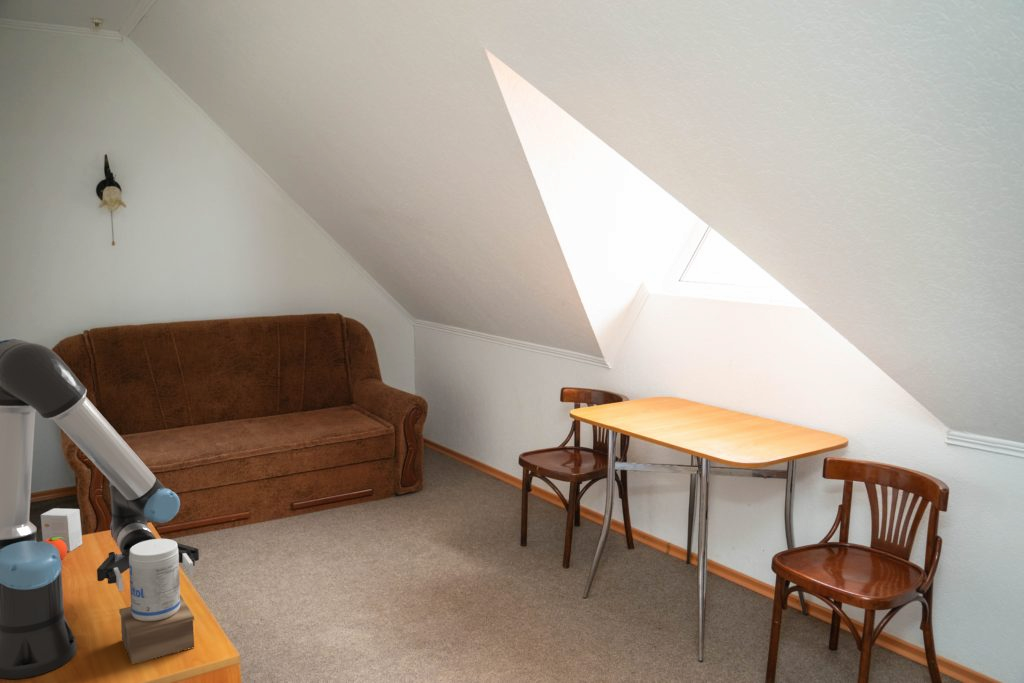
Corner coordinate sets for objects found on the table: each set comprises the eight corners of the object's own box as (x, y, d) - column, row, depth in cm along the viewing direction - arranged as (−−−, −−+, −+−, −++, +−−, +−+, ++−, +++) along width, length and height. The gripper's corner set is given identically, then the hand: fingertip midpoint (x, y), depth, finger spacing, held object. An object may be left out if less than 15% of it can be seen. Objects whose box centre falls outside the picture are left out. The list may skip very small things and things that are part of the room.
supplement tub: (121, 616, 166) (117, 549, 164) (160, 598, 175) (156, 534, 173) (152, 627, 162) (149, 558, 160) (191, 608, 170) (187, 542, 168)
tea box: (195, 647, 168) (193, 616, 167) (131, 665, 160) (129, 632, 160) (181, 624, 178) (180, 594, 177) (121, 640, 171) (119, 609, 170)
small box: (82, 544, 224) (80, 508, 222) (70, 552, 218) (67, 515, 217) (56, 543, 224) (53, 507, 223) (42, 551, 219) (40, 514, 218)
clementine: (62, 555, 216) (61, 530, 215) (77, 560, 212) (75, 535, 211) (32, 565, 209) (30, 539, 208) (46, 571, 206) (45, 545, 205)
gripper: (195, 548, 189) (219, 579, 172) (77, 572, 175) (90, 609, 158) (194, 518, 188) (218, 546, 171) (75, 540, 174) (88, 573, 157)
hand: (157, 577), depth 164 cm, fingers open, 13 cm apart
